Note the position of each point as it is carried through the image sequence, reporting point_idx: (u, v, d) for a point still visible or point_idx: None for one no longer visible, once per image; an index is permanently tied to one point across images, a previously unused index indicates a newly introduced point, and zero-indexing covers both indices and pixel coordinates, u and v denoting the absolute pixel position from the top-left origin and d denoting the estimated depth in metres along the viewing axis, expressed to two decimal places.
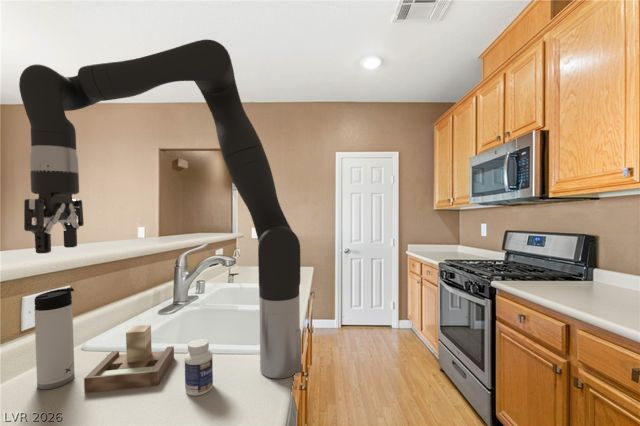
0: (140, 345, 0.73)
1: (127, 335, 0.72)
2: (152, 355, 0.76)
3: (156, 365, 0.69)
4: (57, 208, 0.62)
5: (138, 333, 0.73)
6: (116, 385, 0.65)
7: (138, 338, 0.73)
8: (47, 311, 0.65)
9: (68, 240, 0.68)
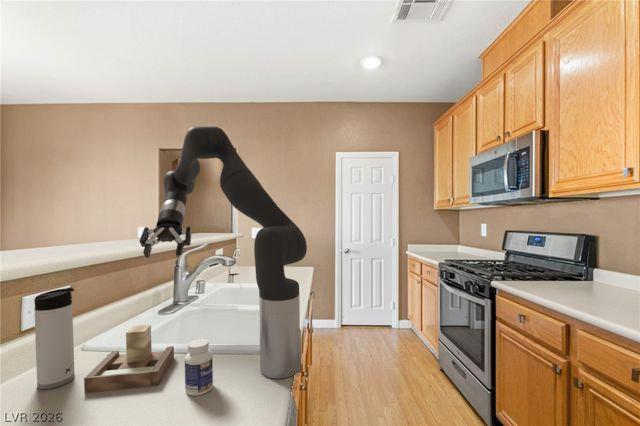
0: (140, 345, 0.73)
1: (127, 335, 0.72)
2: (152, 355, 0.76)
3: (156, 365, 0.69)
4: None
5: (138, 333, 0.73)
6: (116, 385, 0.65)
7: (138, 338, 0.73)
8: (47, 311, 0.65)
9: None
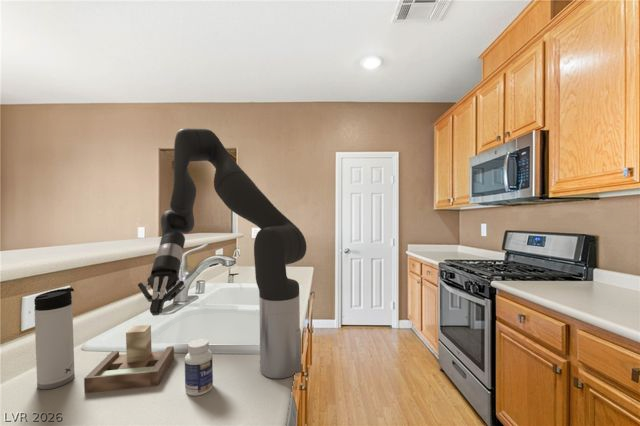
0: (140, 345, 0.73)
1: (127, 335, 0.72)
2: (152, 355, 0.76)
3: (156, 365, 0.69)
4: None
5: (138, 333, 0.73)
6: (116, 385, 0.65)
7: (138, 338, 0.73)
8: (47, 311, 0.65)
9: None
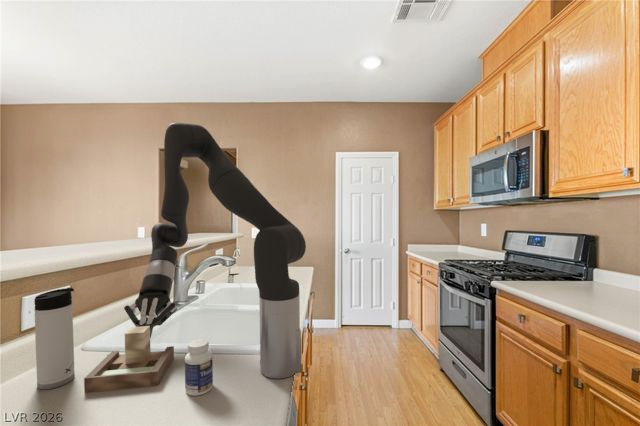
0: (139, 346, 0.72)
1: (126, 336, 0.72)
2: (152, 355, 0.76)
3: (156, 365, 0.69)
4: None
5: (137, 334, 0.72)
6: (116, 385, 0.65)
7: (137, 339, 0.72)
8: (47, 311, 0.65)
9: None
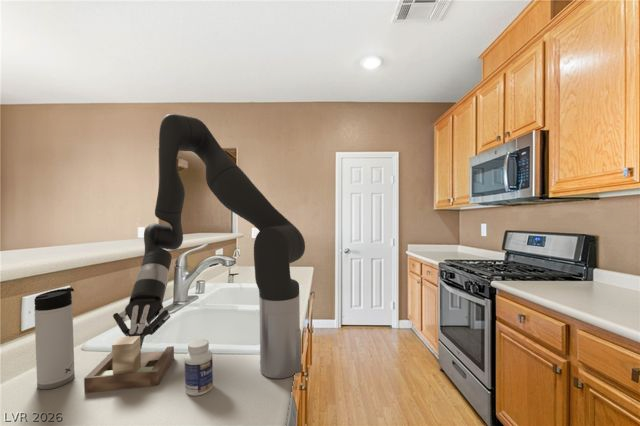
0: (128, 359, 0.67)
1: (113, 348, 0.66)
2: (152, 355, 0.76)
3: (156, 365, 0.69)
4: None
5: (125, 345, 0.66)
6: (116, 385, 0.65)
7: (125, 351, 0.66)
8: (47, 311, 0.65)
9: None
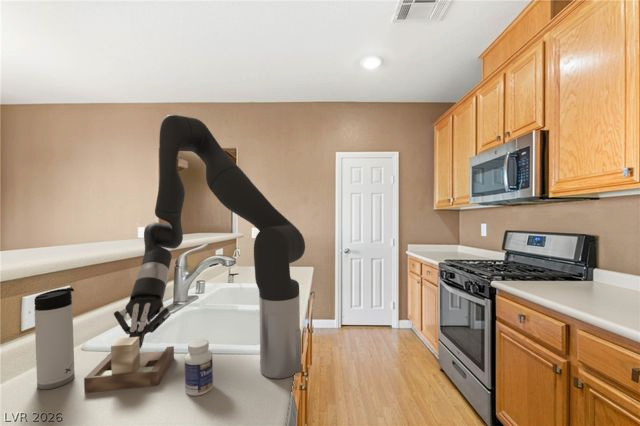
0: (127, 360, 0.66)
1: (112, 349, 0.66)
2: (152, 355, 0.76)
3: (156, 365, 0.69)
4: None
5: (124, 346, 0.66)
6: (116, 385, 0.65)
7: (124, 352, 0.66)
8: (47, 311, 0.65)
9: None
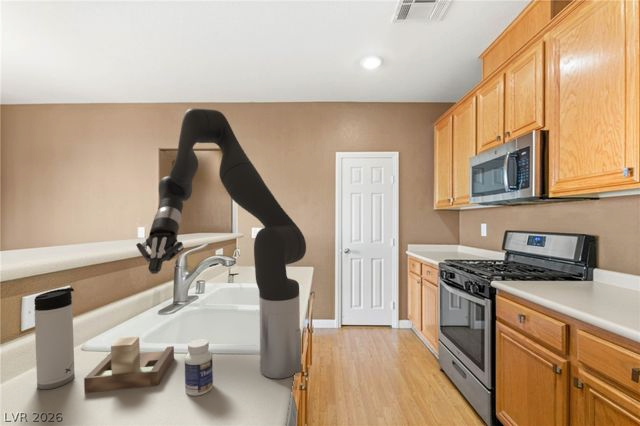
0: (127, 360, 0.66)
1: (112, 349, 0.66)
2: (152, 355, 0.76)
3: (156, 365, 0.69)
4: None
5: (124, 346, 0.66)
6: (116, 385, 0.65)
7: (124, 352, 0.66)
8: (47, 311, 0.65)
9: None
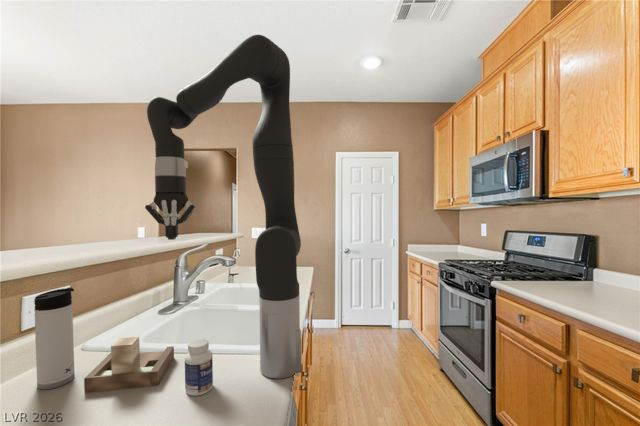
0: (127, 360, 0.66)
1: (112, 349, 0.66)
2: (152, 355, 0.76)
3: (156, 365, 0.69)
4: None
5: (124, 346, 0.66)
6: (116, 385, 0.65)
7: (124, 352, 0.66)
8: (47, 311, 0.65)
9: None
